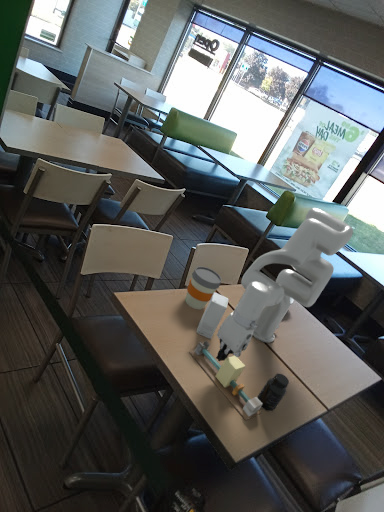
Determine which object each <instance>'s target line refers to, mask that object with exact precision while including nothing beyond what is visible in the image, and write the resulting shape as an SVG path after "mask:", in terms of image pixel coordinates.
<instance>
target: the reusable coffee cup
mask: <svg viewBox="0 0 384 512" xmlns="http://www.w3.org/2000/svg"><path fill="white" fill-rule="evenodd" d="M191 275H192V276H191V278H190V279H189V282H188V286H187V288H186V291H187V292H186V296H185V298H184V301H185V303H186V304H187V306H189V307H190V308H192V309H195V310H203V309H204V308H205V307H206V305H208V303H209V302H210V300H211V297H212V295H213V293H214V292H215V293H217V290H218V289H219V288H220V286H221V283H222V281H223V279H222V277H221V276H220V274H219V273H218V272H216V271H215V270H213V269H211V268H209V267H206V266H202V265H201V266H196V267H195V269H194V270H193V272H192V273H191Z"/></svg>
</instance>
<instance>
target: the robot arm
mask: <svg viewBox="0 0 384 512" xmlns="http://www.w3.org/2000/svg"><path fill="white" fill-rule="evenodd" d="M353 234H354V229H353V227H352V226H351V225H349V224H347V222H344V221H343V220H341V219H339V218H337V217H335V216H334V215H332V214H330V213H328V212H327V211H325V210H323V209H321V208H317V207H312V208H310V209H308V211H307V213H306V215H305V219H304V221H302V222H301V224H300V225H299V226H298V228H297V229H296V230H295V231H294V233H293V234H292V235H291V236H290V237H289V239H288V240H287V241H286V243H285V244H284V245H283V246H282V247H281V248H280V249H277V250H270V251H269V252H266V253H263V254H262V255H260V256H259V257H257V258H256V259H255V260H254V261H253V263H251V265H250V266H249V267H248V269H247V270H246V271H245V273H244V274H243V276H242V278H241V281H240V284H241V286H242V287H243V288H244V289H245V290H244V291H243V294H242V295H241V297H240V300H239V301H238V302H237V305H236V306H235V309H234V310H233V311H232V312H231V313H229V315H228V316H227V317H226V318H225V319H224V321H223V322H222V323H221V325H220V327H219V328H218V330H217V331H218V332H217V333H216V336H217V338H218V340H219V343H220V345H219V351H218V352H217V355H216V357H215V359H216V360H217V361H218V362H222V361H223V362H224V361H225V359H226V358H228V356H229V355H231V354H232V356H236V357H238V358H240V357H241V355H242V352H245V351H246V350H247V348H248V346H249V344H250V342H251V340H252V337H254V338H255V339H256V340H257V341H261V342H263V343H268V344H269V343H272V342H273V341H274V340H275V338H276V336H275V332H276V330H277V329H280V324H281V322H282V320H283V319H284V317H285V315H286V314H287V312H288V311H289V309H290V307H291V305H290V297H291V298H292V299H294V302H297V303H299V304H300V305H301V306H304V307H306V308H310V307H312V306H313V305H314V304H315V303H316V301H317V299H318V298H319V297H320V295H321V293H322V291H324V289H325V287H326V286H327V285H328V283H329V281H330V279H331V278H332V275H333V273H334V268H335V267H334V265H333V264H332V263H331V262H329V261H328V260H326V259H325V258H323V257H322V256H321V255H322V254H325V255H327V256H328V257H329V256H333V255H336V254H337V252H339V251H340V250H341V249H343V247H345V246H346V245H347V244H348V243H349V241H350V240H351V238H352V237H353ZM271 264H280V265H287V266H291V267H292V268H293V269H294V270H292V269H288V268H286V269H282V270H281V271H280V272H279V273H278V276H277V278H276V279H275V282H274V280H273V279H272V278H270V277H269V276H267V275H266V274H265V273H262V272H261V270H262V268H264V267H265V266H267V265H271Z"/></svg>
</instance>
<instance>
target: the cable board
mask: <svg viewBox="0 0 384 512" xmlns="http://www.w3.org/2000/svg"><path fill="white" fill-rule="evenodd" d="M210 345H211V344H210V342H208V341H207V340H204V341H203V342H202V341H200V342H198V344H197V345H196V347H195V349H193V350H190V351H188V352H189V354H190V355H191V357H192V358H193V359H194V360H195V361H196V363H197V364H198V365H199V367H201V368H202V370H203V371H204V372H205V373H206V375H207V376H208V377H209V378H210V379H211V381H212V382H213V383H214V384H215V386H216V387H217V388H218V389H219V390H220V392H223V393H222V394H223V395H224V396H225V397H226V398H227V400H228V401H229V402H230V404H232V406H233V407H234V408H235V410H236V411H237V412H238V413H239V415H241V417H242V418H243V419H244V420H245V421H247V420H249V419H251V418H253V417H255V416H258V415H259V414H261V413H262V411H261V410H260V409H261V408H262V407H261V406H262V402H261V401H260V400H259V399H258V398H257V397H258V396H255V397H252V398H250V397H249V396H248V395H247V393H246V392H245V391H244V390H243V389H244V388H245V385H244V383H240V384H238V382H237V381H236V382H235V381H234V380H232V381H231V382H230V386H228V387H224V386H223V385H222V384H221V383H220V381H219V380H218V379H217V378H216V377H215V376H216V374H217V373H218V371H219V369H220V368H221V366H222V364H220V363H219V361H218V359H216V357H214V356H213V355H212V353H211V352H210V351H209V350H208V349H209V347H210Z"/></svg>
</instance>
